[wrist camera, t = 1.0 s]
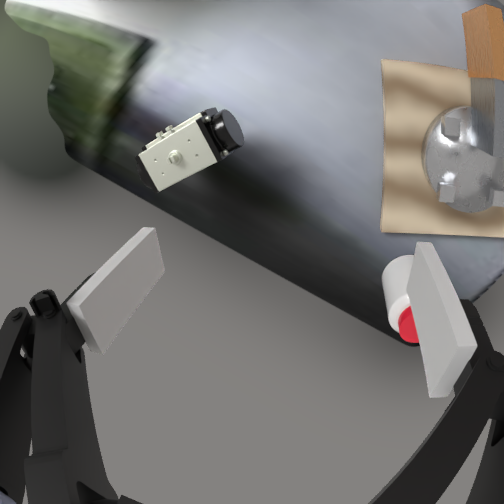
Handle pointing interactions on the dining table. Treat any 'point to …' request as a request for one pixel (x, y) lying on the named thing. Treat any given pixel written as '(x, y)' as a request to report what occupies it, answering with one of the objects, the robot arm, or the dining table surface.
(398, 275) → the pill bottle
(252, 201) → the dining table surface
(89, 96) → the dining table surface
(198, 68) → the dining table surface
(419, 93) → the light wood square board
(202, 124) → the pneumatic valve
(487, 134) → the silver saucepan
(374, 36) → the dining table surface
